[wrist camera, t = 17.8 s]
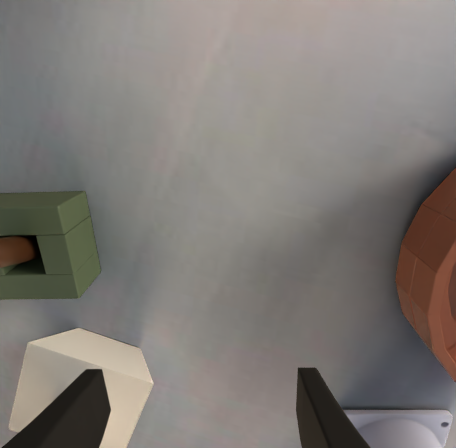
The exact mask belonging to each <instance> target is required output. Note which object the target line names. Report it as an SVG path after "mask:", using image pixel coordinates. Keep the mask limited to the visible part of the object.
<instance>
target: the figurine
mask: <svg viewBox="0 0 456 448" xmlns="http://www.w3.org/2000/svg"><path fill="white" fill-rule="evenodd" d="M86 369H102V371H103V375H104V380H105V384H106V389H107V393H108V398H109V403H110V407H111V413H110V416H109V419H108V423H107V426H106V429H105V433H104V436H103V439H102V442H101V444H100V447H99V448H126V447H127V445H128V442H129V440H130V438H131V435H132V433H133V431H134V428H135V426H136V424H137V421H138V419H139V417H140V414H141V412H142V410H143V407H144V405H145V403H146V400H147V398H148V396H149V393H150V391H151V389H152V386H153V381H152V378H151V376H150V373H149V370H148V368H147V365H146V362H145V360H144V357H143V354H142V352H141V349H140V348H137V347H134V346H131V345H128V344H125V343H122V342H119V341H116V340H113V339H110V338H107V337H104V336H101V335H98V334H95V333H92V332H90V331H87V330H84V329H81V328H77V329H73V330H70V331H66V332H63V333H59V334H56V335H52V336H49V337H45V338H42V339H38V340H35V341H31V342H28V343H27V348H26V352H25V356H24V361H23V365H22V370H21V374H20V378H19V383H18V387H17V392H16V396H15V400H14V405H13V409H12V413H11V418H10V422H9V427H8V429H9V430H12V431H16V432H20V431H21V430H22V429H24V428H25V427H26V426H27V425H28V424H29V423H30V422H31V421H33V420H34V419H35V418H36V417H37V416H38V415H39V414H40V413H41V412H42V411H43V410H44V409H45V408H46V407H47V406H48V405H49V404H51V403H52V402H53V401H54V400H55V399H56V398H57V397H58V396H59V395H60V394H61V393H62V392H63V391H64V390H65V389H66V388H67V387H68V386H69V385H70V384H71V383H72V382H73V381H74V380H75V379H76V378H77V377H78V376H79V375H80V374H81V373H82V372H84V371H85V370H86Z"/></svg>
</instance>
